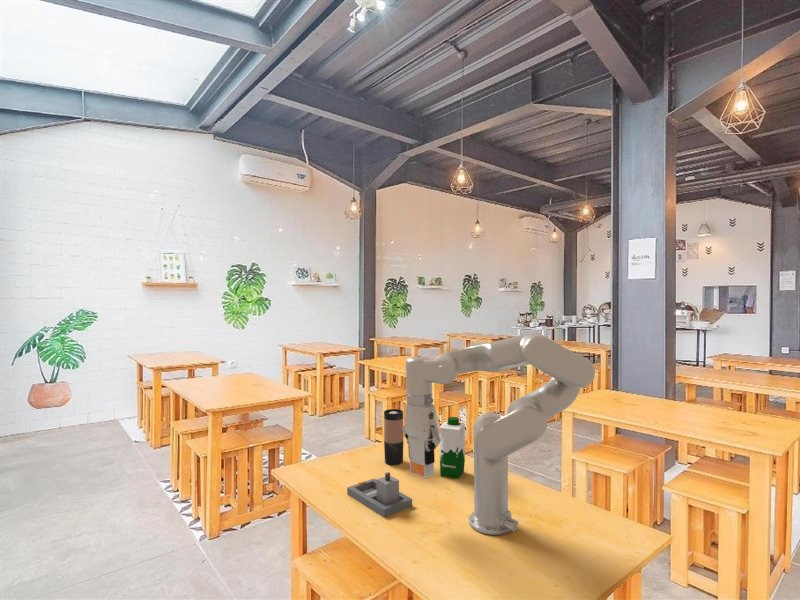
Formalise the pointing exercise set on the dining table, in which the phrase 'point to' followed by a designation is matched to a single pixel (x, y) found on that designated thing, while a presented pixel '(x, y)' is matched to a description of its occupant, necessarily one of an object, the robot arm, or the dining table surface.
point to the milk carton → (452, 448)
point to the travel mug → (393, 436)
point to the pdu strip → (368, 497)
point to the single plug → (387, 489)
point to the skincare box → (419, 458)
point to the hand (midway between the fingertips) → (421, 459)
